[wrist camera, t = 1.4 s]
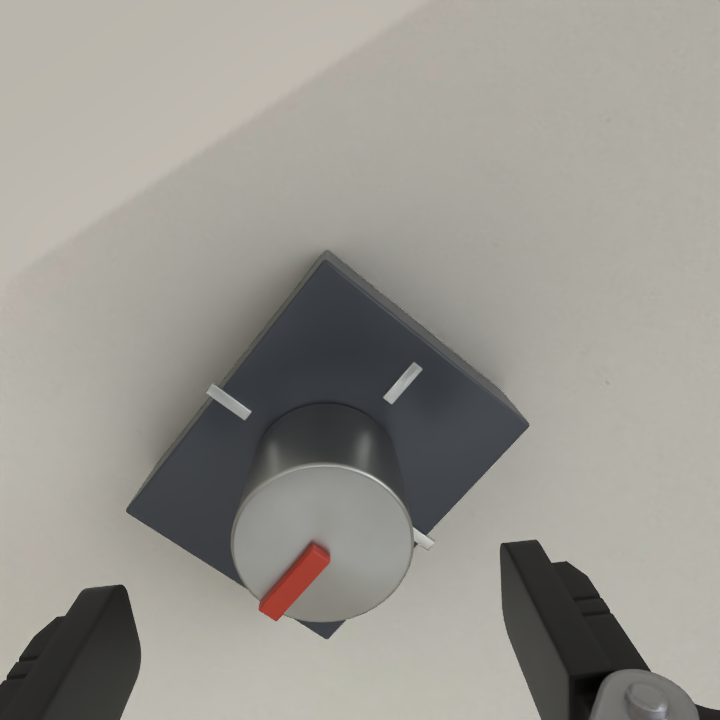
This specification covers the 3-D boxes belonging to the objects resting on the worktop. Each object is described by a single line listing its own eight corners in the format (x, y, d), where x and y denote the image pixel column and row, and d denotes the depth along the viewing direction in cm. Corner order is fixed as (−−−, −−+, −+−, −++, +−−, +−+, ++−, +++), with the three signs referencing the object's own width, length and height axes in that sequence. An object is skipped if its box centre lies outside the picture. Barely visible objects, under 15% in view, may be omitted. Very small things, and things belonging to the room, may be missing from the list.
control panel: (319, 242, 19) (315, 251, 16) (509, 397, 20) (540, 433, 17) (146, 463, 20) (113, 509, 17) (334, 587, 22) (334, 649, 19)
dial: (313, 373, 17) (305, 432, 12) (426, 458, 18) (454, 540, 13) (224, 480, 17) (189, 569, 13) (337, 557, 18) (337, 662, 14)
